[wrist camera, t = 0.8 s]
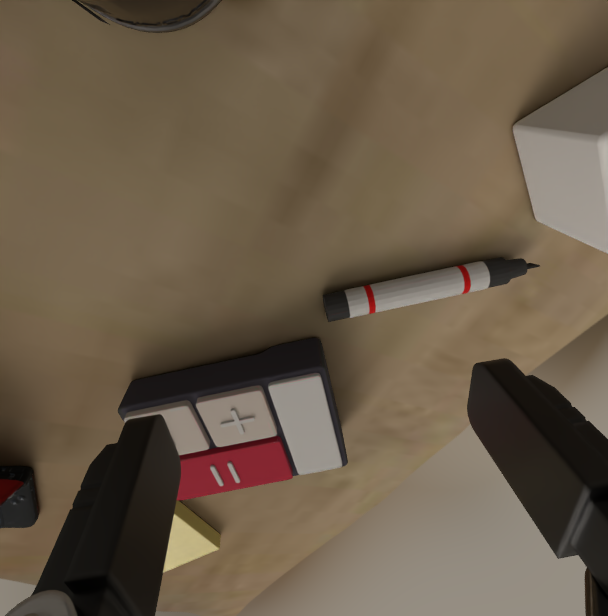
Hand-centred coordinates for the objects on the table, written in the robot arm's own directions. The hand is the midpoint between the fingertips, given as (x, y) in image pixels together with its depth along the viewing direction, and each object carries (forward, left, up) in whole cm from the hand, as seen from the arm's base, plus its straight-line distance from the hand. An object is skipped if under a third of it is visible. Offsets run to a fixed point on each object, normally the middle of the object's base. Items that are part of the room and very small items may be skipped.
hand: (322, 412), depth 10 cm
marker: (+7, +9, -17) cm, 20 cm away
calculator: (+15, -7, -17) cm, 23 cm away
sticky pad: (+29, -19, -17) cm, 38 cm away
